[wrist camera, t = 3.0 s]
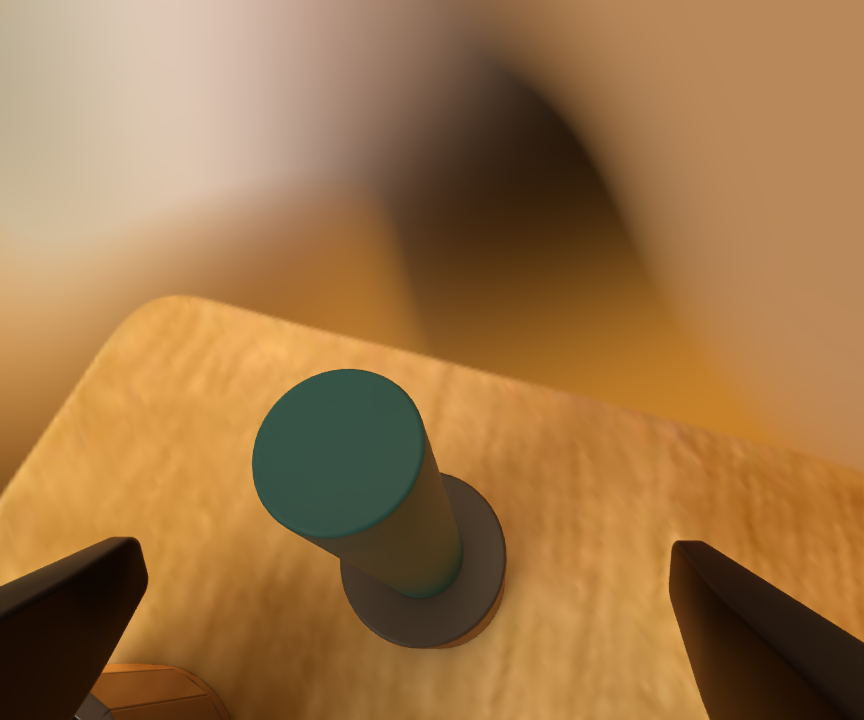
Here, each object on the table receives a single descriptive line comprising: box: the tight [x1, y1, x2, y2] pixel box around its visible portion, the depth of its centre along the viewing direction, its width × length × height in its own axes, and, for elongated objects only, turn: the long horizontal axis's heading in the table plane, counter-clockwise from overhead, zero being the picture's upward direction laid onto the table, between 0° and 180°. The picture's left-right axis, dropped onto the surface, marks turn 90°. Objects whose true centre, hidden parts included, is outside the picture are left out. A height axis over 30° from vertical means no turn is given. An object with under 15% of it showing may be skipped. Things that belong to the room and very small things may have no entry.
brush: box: [252, 369, 507, 649], centre depth 11 cm, size 4×4×12 cm
